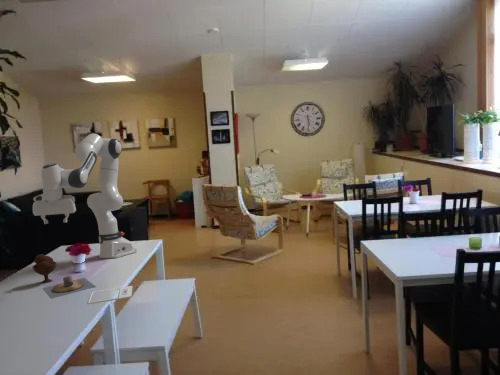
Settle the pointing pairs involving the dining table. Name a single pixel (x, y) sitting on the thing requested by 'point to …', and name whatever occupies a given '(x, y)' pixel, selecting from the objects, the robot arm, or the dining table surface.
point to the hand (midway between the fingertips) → (55, 223)
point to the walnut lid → (68, 285)
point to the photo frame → (124, 293)
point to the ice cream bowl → (44, 266)
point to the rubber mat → (54, 294)
